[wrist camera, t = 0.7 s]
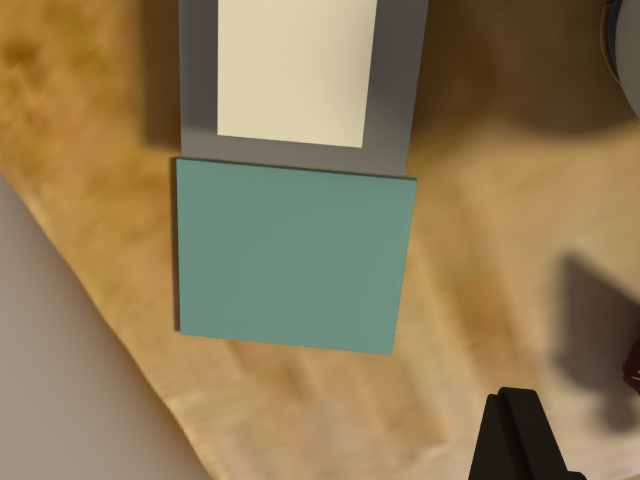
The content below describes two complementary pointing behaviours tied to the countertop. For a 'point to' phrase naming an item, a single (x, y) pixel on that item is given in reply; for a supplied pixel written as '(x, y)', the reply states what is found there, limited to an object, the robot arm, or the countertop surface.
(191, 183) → the mat
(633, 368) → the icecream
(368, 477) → the countertop surface
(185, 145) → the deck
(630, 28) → the apothecary jar
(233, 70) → the tile
